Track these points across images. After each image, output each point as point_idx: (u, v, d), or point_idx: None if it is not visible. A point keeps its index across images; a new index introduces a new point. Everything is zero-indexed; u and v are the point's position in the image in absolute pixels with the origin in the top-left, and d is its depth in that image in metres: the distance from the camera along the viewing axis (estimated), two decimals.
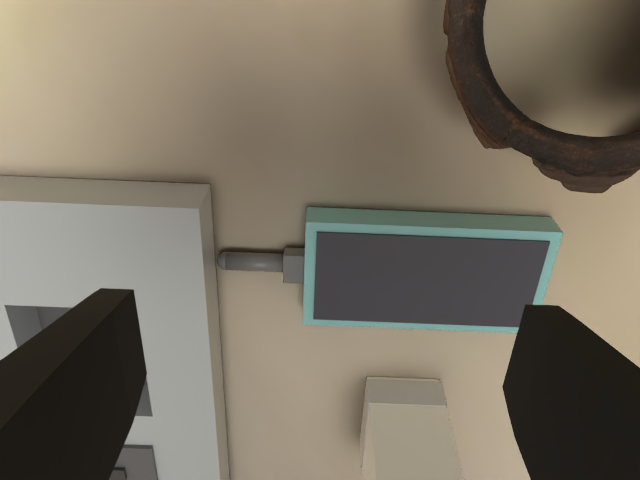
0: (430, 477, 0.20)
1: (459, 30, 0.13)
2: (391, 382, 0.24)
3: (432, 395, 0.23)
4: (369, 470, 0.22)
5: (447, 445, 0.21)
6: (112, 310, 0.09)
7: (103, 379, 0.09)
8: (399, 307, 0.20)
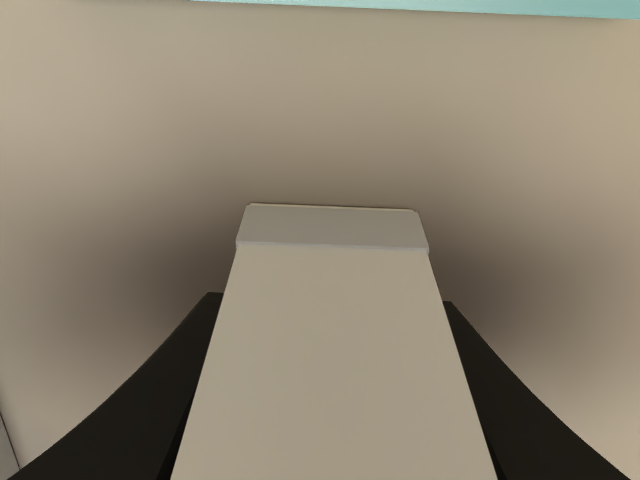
0: (368, 397, 0.06)
1: None
2: (302, 210, 0.10)
3: (394, 232, 0.10)
4: None
5: (427, 321, 0.08)
6: None
7: None
8: None
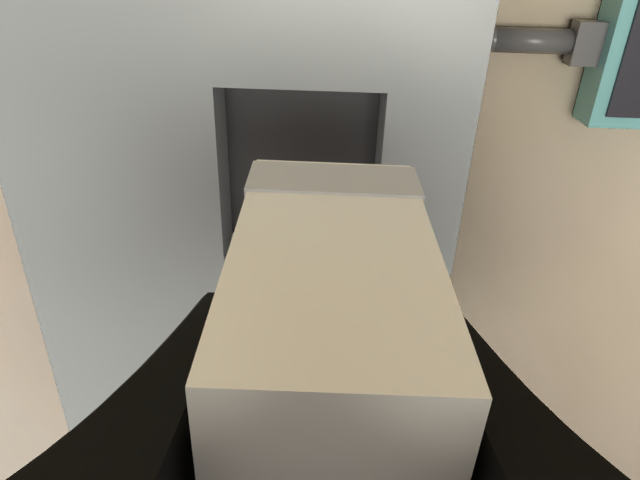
0: (367, 309, 0.07)
1: None
2: (305, 165, 0.11)
3: (392, 182, 0.10)
4: None
5: (421, 253, 0.08)
6: None
7: None
8: None
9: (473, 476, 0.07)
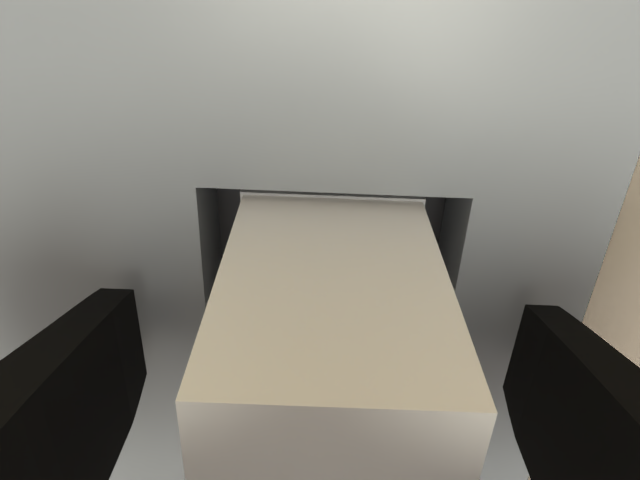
0: (366, 318, 0.07)
1: None
2: None
3: None
4: None
5: (423, 258, 0.08)
6: (112, 310, 0.09)
7: (103, 379, 0.09)
8: None
9: None
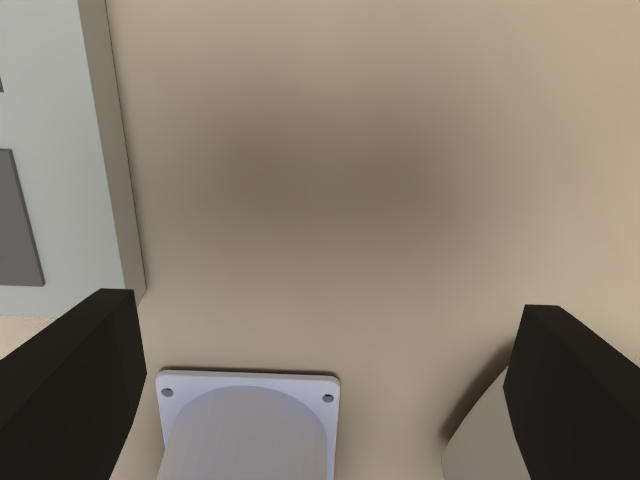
0: None
1: None
2: None
3: None
4: None
5: None
6: (112, 310, 0.09)
7: (103, 379, 0.09)
8: None
9: None
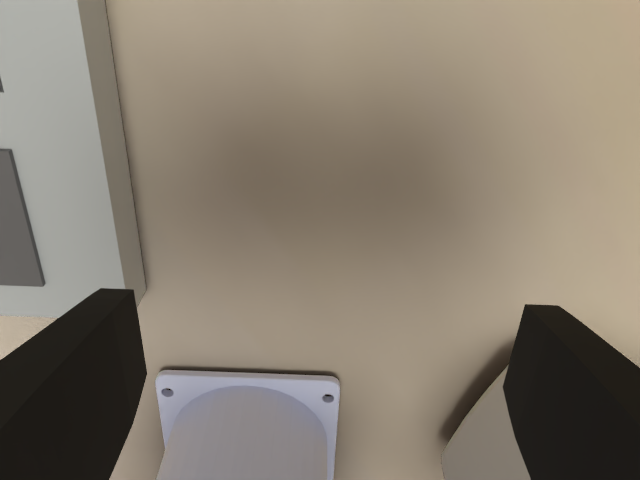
0: None
1: None
2: None
3: None
4: None
5: None
6: (112, 310, 0.09)
7: (103, 379, 0.09)
8: None
9: None
